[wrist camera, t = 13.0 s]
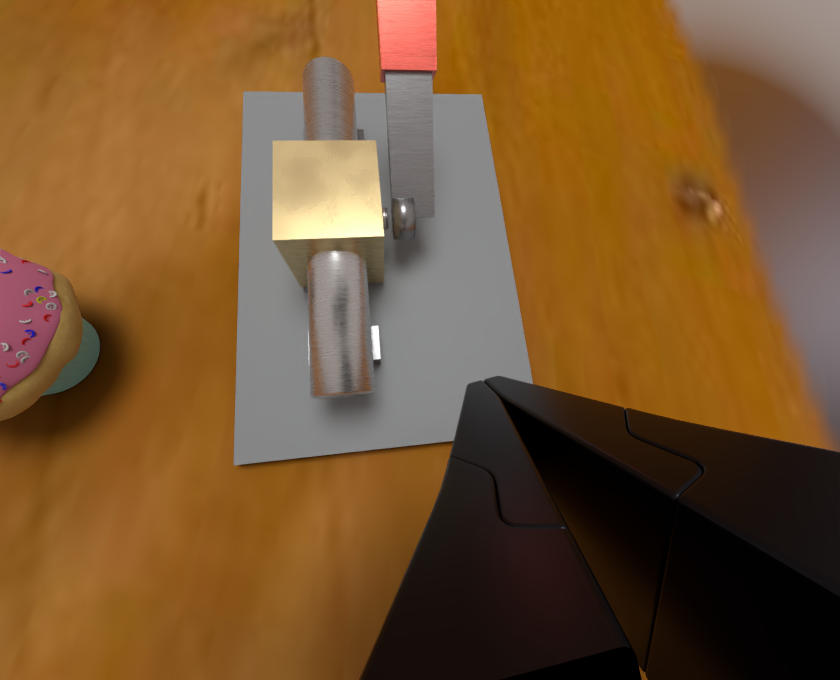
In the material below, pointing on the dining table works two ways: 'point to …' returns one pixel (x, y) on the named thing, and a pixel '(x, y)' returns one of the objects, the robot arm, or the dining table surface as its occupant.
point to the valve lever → (408, 107)
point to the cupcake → (39, 335)
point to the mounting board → (377, 296)
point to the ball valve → (332, 230)
